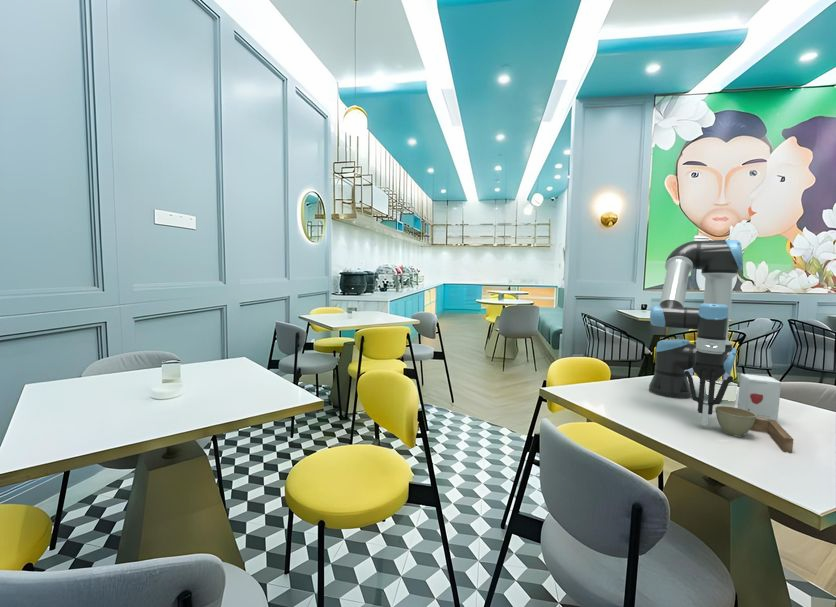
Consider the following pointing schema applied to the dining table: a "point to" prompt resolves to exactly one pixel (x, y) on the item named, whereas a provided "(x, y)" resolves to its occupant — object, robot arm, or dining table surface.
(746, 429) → the flower pot
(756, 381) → the supplement box
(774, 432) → the l-shaped wooden block
